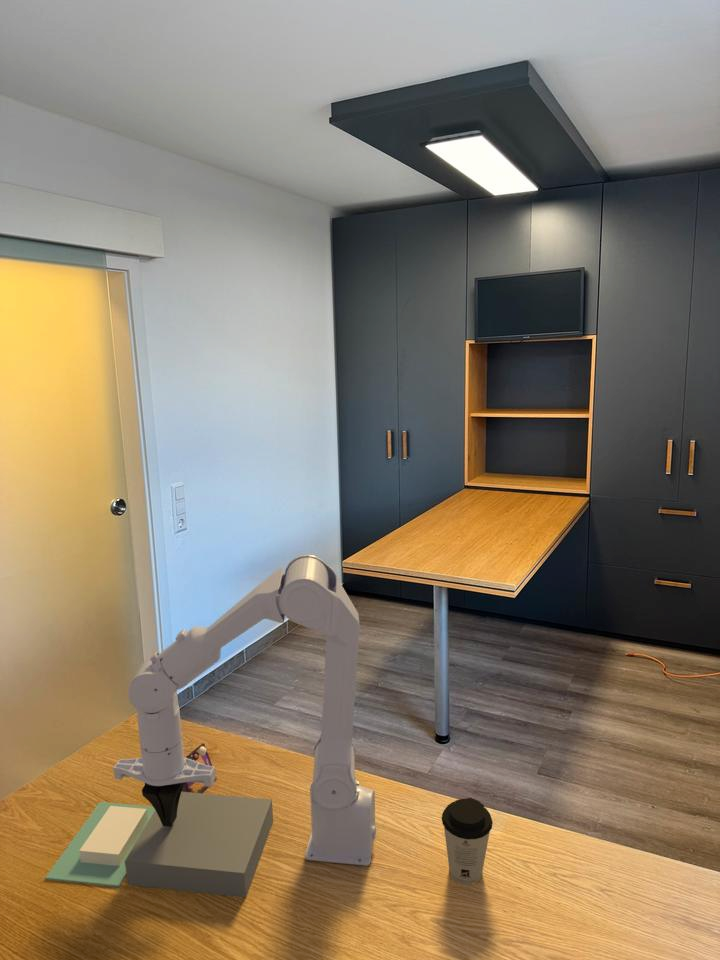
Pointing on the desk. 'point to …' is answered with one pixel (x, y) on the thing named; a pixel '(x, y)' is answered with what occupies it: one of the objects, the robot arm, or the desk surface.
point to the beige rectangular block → (114, 836)
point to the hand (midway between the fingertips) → (169, 821)
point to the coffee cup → (466, 838)
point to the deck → (203, 845)
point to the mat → (91, 873)
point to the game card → (195, 756)
